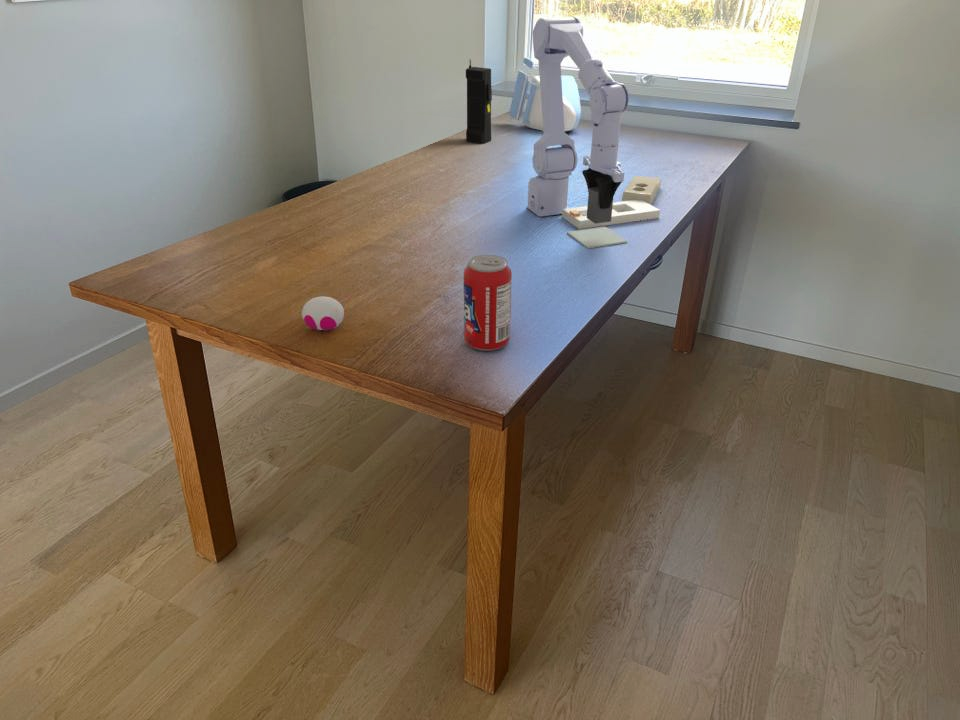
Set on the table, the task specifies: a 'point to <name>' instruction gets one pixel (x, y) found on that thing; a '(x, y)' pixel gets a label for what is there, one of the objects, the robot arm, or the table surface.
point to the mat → (596, 237)
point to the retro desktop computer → (534, 100)
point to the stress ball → (323, 313)
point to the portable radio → (478, 104)
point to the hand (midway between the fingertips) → (599, 204)
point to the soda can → (487, 302)
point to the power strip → (613, 214)
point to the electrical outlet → (642, 189)
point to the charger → (597, 208)
